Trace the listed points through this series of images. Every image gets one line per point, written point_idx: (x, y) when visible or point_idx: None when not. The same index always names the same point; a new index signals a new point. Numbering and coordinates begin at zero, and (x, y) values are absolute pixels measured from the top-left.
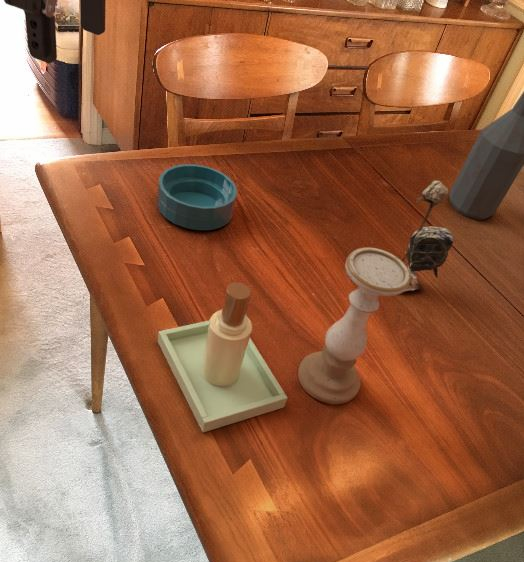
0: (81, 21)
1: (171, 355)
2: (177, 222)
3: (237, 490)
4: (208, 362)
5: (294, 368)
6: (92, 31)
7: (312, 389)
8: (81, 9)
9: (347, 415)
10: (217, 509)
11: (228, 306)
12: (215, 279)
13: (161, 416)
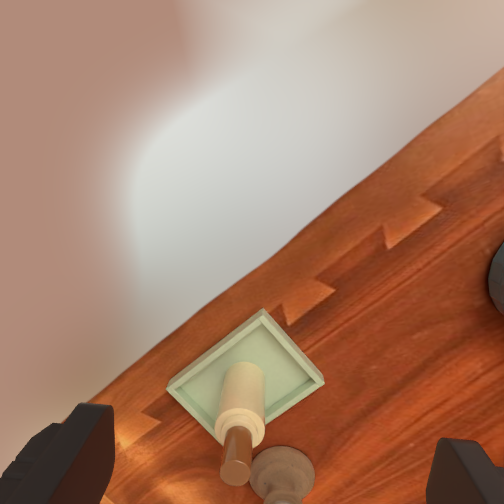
0: (453, 454)
1: (233, 337)
2: (493, 264)
3: (127, 418)
4: (224, 385)
5: (283, 441)
6: (431, 476)
7: (254, 465)
8: (476, 498)
9: (244, 491)
10: None
11: (222, 453)
12: (394, 337)
13: (171, 340)
